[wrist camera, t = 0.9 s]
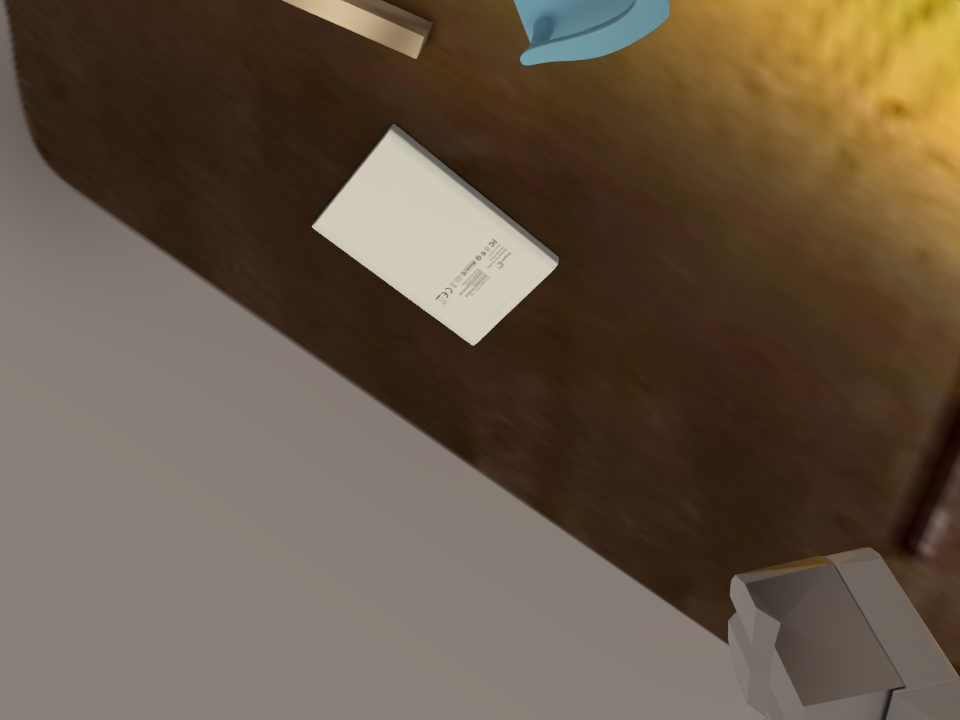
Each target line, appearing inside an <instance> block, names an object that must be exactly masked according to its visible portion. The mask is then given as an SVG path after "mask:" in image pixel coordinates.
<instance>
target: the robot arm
mask: <svg viewBox="0 0 960 720" xmlns="http://www.w3.org/2000/svg"><path fill="white" fill-rule="evenodd" d="M730 597H731V599H732V601H733V604H734V606H735V608H736V610H737V612H736V613H735V614H734V615H733V616H732V617H731V618H730V620H729V621H728V641H729V647H730V652H731V658H732V663H733V666H734V669H735V673H736V675H737V679H738V682H739V684H740V687H741V689H742V692H743V694H744V697H745V699H746V701H747V704H749V705H750V706H751V707H753V708H754V709H756V710H757V711H758V712H760V713H761V714H762V715H764V716H765V717H766V719H765V720H960V677H959V676H958V674H957V673H956V671H955V670H954V668H953V667H952V665H951V663H950V662H949V660H948V659H947V657H946V656H945V654H944V653H943V651H942V650H941V648H940V647H939V645H938V643H937V642H936V640H935V639H934V637H933V636H932V634H931V633H930V631H929V630H928V628H927V627H926V625H925V623H924V622H923V620H922V619H921V617H920V616H919V614H918V613H917V611H916V610H915V608H914V607H913V605H912V603H911V602H910V600H909V599H908V597H907V596H906V594H905V593H904V591H903V590H902V588H901V587H900V585H899V583H898V582H897V580H896V579H895V577H894V576H893V574H892V573H891V571H890V570H889V568H888V567H887V565H886V563H885V562H884V560H883V559H882V557H881V556H880V555H879V554H878V553H877V552H875V551H874V550H873V549H871V548H859V549H855V550H851V551H846V552H842V553H838V554H833V555H829V556H825V557H821V556H817V557H813V558H808V559H804V560H799V561H795V562H790V563H786V564H781V565H777V566H773V567H768V568H764V569H759V570H755V571H750V572H746V573H741V574H737V575H735V576H734V578H733V579H732V581H731V589H730Z"/></svg>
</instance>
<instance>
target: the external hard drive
mask: <svg viewBox="0 0 960 720" xmlns="http://www.w3.org/2000/svg"><path fill="white" fill-rule="evenodd" d="M312 228H313V229H315V230H316V231H318V232H319V233H320V234H322V235H323V236H324V237H326V238H327V239H328V240H330V241H331V242H332V243H334V244H335V245H337V246H338V247H339V248H341V249H342V250H343V251H345V252H346V253H347V254H349V255H350V256H351V257H353V258H354V259H356V260H357V261H358V262H360V263H361V264H362V265H364V266H365V267H366V268H368V269H369V270H370V271H372V272H373V273H375V274H376V275H377V276H379V277H380V278H381V279H383V280H384V281H385V282H387V283H388V284H390V285H391V286H392V287H394V288H395V289H396V290H398V291H399V292H400V293H402V294H403V295H404V296H406V297H407V298H409V299H410V300H411V301H413V302H414V303H415V304H417V305H418V306H419V307H421V308H422V309H423V310H425V311H426V312H428V313H429V314H430V315H432V316H433V317H434V318H436V319H437V320H439V321H440V322H441V323H443V324H444V325H445V326H447V327H448V328H449V329H451V330H452V331H454V332H455V333H456V334H458V335H459V336H460V337H462V338H463V339H464V340H466V341H467V342H468V343H470V344H471V345H475V344H476V343H478V342H479V341H480V340H481V339H482V338H483V337H484V336H485V335H486V334H487V333H488V332H489V331H490V330H491V329H492V328H493V327H494V326H495V325H496V324H497V323H498V322H499V321H500V320H501V319H503V318H504V317H505V316H506V315H507V314H508V313H509V312H510V311H511V310H512V309H513V308H514V307H515V306H516V305H517V304H518V303H519V302H520V301H521V300H523V299H524V298H525V297H526V296H527V295H528V294H529V293H530V292H531V291H532V290H533V289H534V288H535V287H536V286H537V285H538V284H539V283H540V282H541V281H543V280H544V279H545V278H546V277H547V276H548V275H549V274H550V273H551V272H552V271H553V270H554V269H555V268H556V266H557V265H558V261H559V257H558V256H557V255H555V254H554V253H553V252H552V251H551V250H549V249H548V248H547V247H546V246H544V245H543V244H542V243H541V242H539V241H538V240H537V239H536V238H534V237H533V236H532V235H531V234H530V233H528V232H527V231H526V230H525V229H523V228H522V227H521V226H520V225H519V224H517V223H516V222H515V221H514V220H512V219H511V218H510V217H509V216H507V215H506V214H505V213H504V212H502V211H501V210H500V209H499V208H498V207H496V206H495V205H494V204H493V203H491V202H490V201H489V200H488V199H486V198H485V197H484V196H483V195H481V194H480V193H479V192H478V191H477V190H475V189H474V188H473V187H472V186H470V185H469V184H468V183H467V182H465V181H464V180H463V179H462V178H460V177H459V176H458V175H457V174H456V173H454V172H453V171H452V170H451V169H449V168H448V167H447V166H446V165H445V164H443V163H442V162H441V161H440V160H438V159H437V158H436V157H435V156H434V155H432V154H431V153H430V152H429V151H427V150H426V149H425V148H424V147H422V146H421V145H420V144H419V143H418V142H416V141H415V140H414V139H413V138H411V137H410V136H409V135H408V134H406V133H405V132H404V131H403V130H401V129H400V128H399V127H398V126H397V125H395V124H392V126H391V127H390V128H389V129H388V131H387V132H386V133H385V134H384V136H383V137H382V138H381V139H380V141H379V142H378V143H377V144H376V146H375V147H374V148H373V149H372V151H371V152H370V153H369V154H368V156H367V157H366V158H365V159H364V160H363V162H362V163H361V164H360V165H359V167H358V168H357V169H356V170H355V172H354V173H353V174H352V175H351V177H350V178H349V179H348V180H347V182H346V183H345V184H344V185H343V187H342V188H341V189H340V190H339V192H338V193H337V194H336V195H335V197H334V198H333V199H332V200H331V202H330V203H329V204H328V205H327V206H326V208H325V209H324V210H323V211H322V213H321V214H320V215H319V216H318V217H317V219H316V220H315V222H314V224H313V225H312Z"/></svg>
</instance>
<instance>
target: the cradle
mask: <svg viewBox="0 0 960 720" xmlns="http://www.w3.org/2000/svg"><path fill="white" fill-rule="evenodd" d="M283 1H285V2H287V3H289V4H292V5H294V6H296V7H299V8H301V9H303V10H305V11H308V12H310V13H312V14H315V15H317V16H319V17H321V18H324V19H326V20H328V21H331V22H333V23H335V24H337V25H340V26H342V27H344V28H347V29H349V30H351V31H353V32H356V33H358V34H360V35H363V36H365V37H367V38H369V39H372V40H374V41H376V42H379V43H381V44H383V45H385V46H388V47H390V48H392V49H395V50H397V51H399V52H401V53H404V54H406V55H408V56H410V57H413V58H415V59H417V57H418V56H419V54H420V52H421V51H422V49H423V47H424V45H425V43H426V41H427V38H428V35H429V32H430V29H431V27H432V24H433V23H432V22H430V21H427V20H425V19H423V18H421V17H418V16H416V15H414V14H412V13H409V12H407V11H405V10H403V9H400V8H398V7H396V6H394V5H391V4H389V3H387V2H385V1H382V0H283Z"/></svg>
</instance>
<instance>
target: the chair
mask: <svg viewBox="0 0 960 720" xmlns="http://www.w3.org/2000/svg"><path fill="white" fill-rule="evenodd" d="M514 2H515V5H516V7H517V10H518V13H519V15H520V18H521V21H522V23H523V26H524V28H525V31H526V33H527V36H528V38H529V41H530V43H531V44H530V46H529V47H528V48H527V49H526V51H525V52H524V53H523V54H522V55H521V57H520V62H521V63H522V64H524V65H534V64H539V63H545V62H554V61H573V60H584V59H591V58H596V57H601V56H604V55H607V54H610V53H613V52H615V51H618V50H620V49H622V48H624V47H626V46H628V45H630V44H632V43H634V42H636V41H637V40H639V39H641V38H642V37H644V36H646V35H647V34H649V33H650V32H652V31H653V30H655V29H656V28H657V27H659V26H660V25H661V24H662V23H664V21H665V20H666V19H667V18H668V16H669V15H670V3H669V0H514ZM606 21H607V22H606ZM604 22H605V23H604ZM601 23H603V24H601ZM599 24H600V25H599ZM596 25H598V26H596ZM594 26H595V27H594ZM591 27H593V28H591ZM589 28H590V29H589ZM586 29H587V30H586Z"/></svg>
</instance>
